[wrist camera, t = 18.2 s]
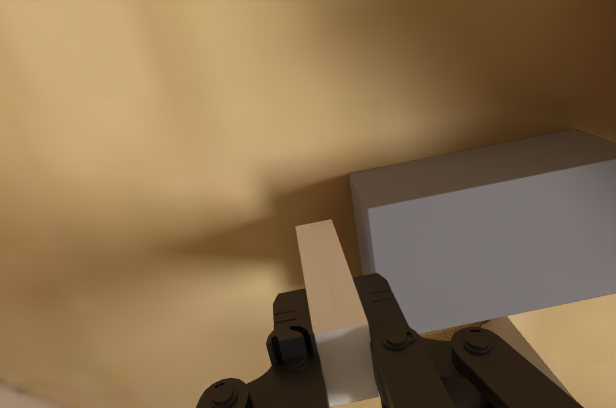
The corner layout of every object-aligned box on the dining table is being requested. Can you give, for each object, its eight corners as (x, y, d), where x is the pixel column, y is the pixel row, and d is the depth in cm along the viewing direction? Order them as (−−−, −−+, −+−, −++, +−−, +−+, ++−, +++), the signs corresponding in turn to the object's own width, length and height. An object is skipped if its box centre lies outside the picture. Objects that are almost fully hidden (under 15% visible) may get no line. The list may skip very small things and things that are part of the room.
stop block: (570, 127, 19) (644, 153, 15) (561, 245, 21) (622, 291, 18) (347, 171, 19) (367, 208, 15) (363, 285, 21) (384, 341, 18)
